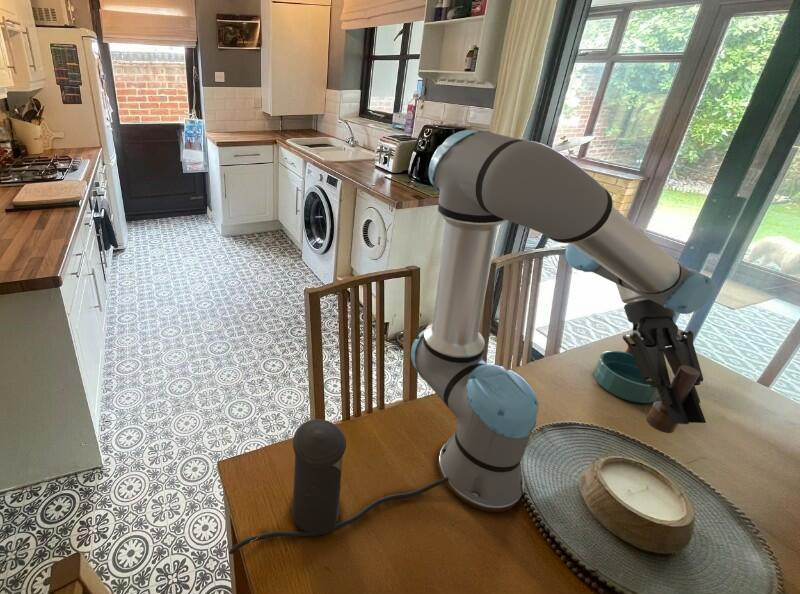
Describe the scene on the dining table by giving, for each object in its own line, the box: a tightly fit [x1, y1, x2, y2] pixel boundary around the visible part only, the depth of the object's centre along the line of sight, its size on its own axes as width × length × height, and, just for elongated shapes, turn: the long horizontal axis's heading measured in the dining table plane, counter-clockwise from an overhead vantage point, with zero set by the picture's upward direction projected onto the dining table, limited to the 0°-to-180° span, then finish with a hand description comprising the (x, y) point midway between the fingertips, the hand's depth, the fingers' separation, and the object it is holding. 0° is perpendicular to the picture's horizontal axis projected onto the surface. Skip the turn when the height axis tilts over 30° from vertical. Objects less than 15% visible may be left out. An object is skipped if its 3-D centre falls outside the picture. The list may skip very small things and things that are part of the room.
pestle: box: [645, 365, 700, 434], centre depth 79 cm, size 4×4×14 cm
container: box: [291, 418, 347, 537], centre depth 70 cm, size 9×9×20 cm
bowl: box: [593, 350, 660, 404], centre depth 103 cm, size 13×13×6 cm
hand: (688, 422), depth 77 cm, fingers closed on pestle, 3 cm apart
